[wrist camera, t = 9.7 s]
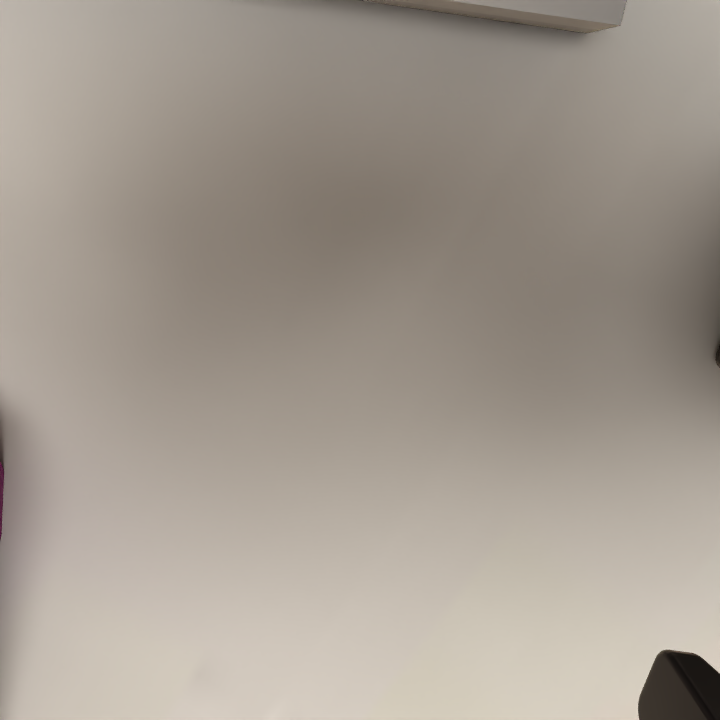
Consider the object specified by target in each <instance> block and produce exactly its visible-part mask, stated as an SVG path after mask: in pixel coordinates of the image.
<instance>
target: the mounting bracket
mask: <svg viewBox="0 0 720 720" xmlns="http://www.w3.org/2000/svg"><path fill="white" fill-rule="evenodd" d="M3 486H4V470H3V467H2V464H1V462H0V539H1V534H2V510H3Z"/></svg>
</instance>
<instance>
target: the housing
mask: <svg viewBox="0 0 720 720" xmlns="http://www.w3.org/2000/svg"><path fill="white" fill-rule="evenodd" d="M361 1H368V2H374V3H381V4H388V5H395V6H402V7H409V8H416V9H423V10H430V11H437V12H443V13H450V14H457V15H464V16H471V17H478V18H485V19H492V20H499V21H506V22H512V23H519V24H526V25H533V26H540V27H547V28H554V29H561V30H568V31H575V32H581V33H590V32H594V31H599V30H603V29H607V28H612V27H616V26H620V25H621V21H622V17H623V14H624V10H625V6H626V2H627V0H361Z"/></svg>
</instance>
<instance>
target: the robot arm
mask: <svg viewBox="0 0 720 720" xmlns="http://www.w3.org/2000/svg"><path fill="white" fill-rule="evenodd" d="M716 362H717V365H718V366H719V367H720V346H719V348H718V351H717V354H716ZM638 714H639V720H720V673H718V672H717V671H716V670H715V669H714V668H713V667H712V666H711V665H709V664H708V663H707V662H706V661H705V660H704V659H703V658H701V657H700V656H698V655H697V654H693V653H689V652H681V651H673V650H663V651H661V652H660V653H659V654H658V655H657V657H656V658H655V661H654V663H653V665H652V668H651V670H650V673H649V675H648V677H647V680H646V682H645V685H644V687H643V689H642V692H641V694H640V698H639V703H638Z"/></svg>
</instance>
